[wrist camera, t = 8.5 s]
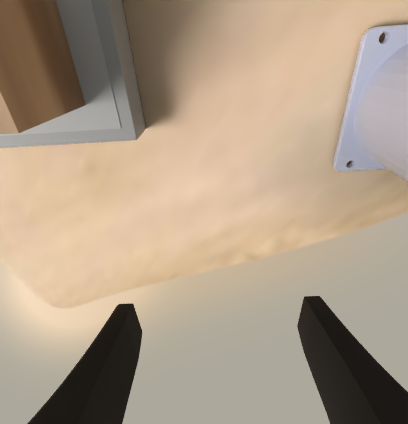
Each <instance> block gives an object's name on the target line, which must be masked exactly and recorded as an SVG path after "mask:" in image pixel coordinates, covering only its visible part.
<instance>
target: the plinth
mask: <svg viewBox="0 0 408 424" xmlns="http://www.w3.org/2000/svg"><path fill="white" fill-rule="evenodd" d="M56 2H57V6H58V9H59V13H60V17H61V20H62V24H63V27H64V31H65V34H66V38H67V41H68V45H69V48H70V52H71V55H72V59H73V62H74V66H75V69H76V73H77V76H78V80H79V83H80V87H81V90H82V94H83V97H84V101H85V104H86V105H85V106H83V107H80V108H78V109H76V110H73V111H71V112H68V113H66V114H64V115H61V116H59V117H57V118H54V119H52V120H50V121H47V122H45V123H42V124H40V125H38V126H35V127H33V128H31V129H28V130H26V131H23V132H21V133H17V134H0V148H11V147H28V146H45V145H61V144H78V143H95V142H112V141H128V140H137V139H138V138H139V136H140V135H141V134H142V133H143V132H144V130H145V129H146V127H145V122H144V117H143V111H142V106H141V100H140V95H139V89H138V84H137V79H136V73H135V68H134V62H133V57H132V51H131V46H130V41H129V35H128V30H127V24H126V19H125V14H124V8H123V3H122V0H56Z"/></svg>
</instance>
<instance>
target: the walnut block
mask: <svg viewBox="0 0 408 424" xmlns="http://www.w3.org/2000/svg"><path fill="white" fill-rule="evenodd" d="M85 105H86V104H85V101H84V97H83V94H82V90H81V87H80V83H79V80H78V76H77V73H76V69H75V66H74V62H73V59H72V55H71V52H70V48H69V45H68V41H67V38H66V34H65V31H64V27H63V24H62V20H61V17H60V13H59V9H58V6H57V2H56V0H0V134H17V133H21V132H23V131H26V130H28V129H31V128H33V127H35V126H38V125H40V124H42V123H45V122H47V121H50V120H52V119H54V118H57V117H59V116H61V115H64V114H66V113H68V112H71V111H73V110H76V109H78V108H80V107H83V106H85Z"/></svg>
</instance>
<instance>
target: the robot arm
mask: <svg viewBox="0 0 408 424" xmlns="http://www.w3.org/2000/svg"><path fill="white" fill-rule="evenodd" d="M383 32H384V34H385V39H384V41H383V42H382V43H380V42H379V37H380V35H381V34H382V33H383ZM349 161H352V162H351V164H350V165H348V166H346V164H347V163H348V162H349ZM333 167H334V168H335V169H336V170H337V171H358V170H377V169H389V170H390V171H392V172H393V173H395V174H396V175H398V176H399V177H401V178H403V179H404V180H406V181H407V182H408V24H404V25H392V26H379V27H372V28H369V29H368V30H367V31H366V32H365V33H364V34H363V36H362V38H361V42H360V46H359V51H358V55H357V60H356V64H355V69H354V73H353V77H352V82H351V86H350V91H349V95H348V99H347V104H346V108H345V113H344V117H343V121H342V126H341V130H340V135H339V139H338V143H337V148H336V152H335V157H334V161H333ZM297 327H298V331H299V334H300V339H301V343H302V346H303V350H304V353H305V356H306V359H307V362H308V364H309V367H310V370H311V372H312V375H313V378H314V380H315V383H316V385H317V388H318V391H319V394H320V396H321V399H322V401H323V404H324V407H325V410H326V412H327V415H328V418H329V421H330V424H408V392H407V391H406V390H405V389H404V388H403V387H402V386H401V385H400V384H399V383H398V382H397V381H396V380H394V378H393V377H392V376H391V375H390V374H389V373H388V372H387V371H386V370H385V369H384V368H383V367H382V366H381V365H380V364H379V363H378V362H377V361H376V360H375V359H374V358H373V357H372V356H371V355H370V354H369V353H368V351H367V350H366V349H365V348H364V347H363V346H362V345H361V344H360V343H359V342H358V341H357V339H356V338H355V337H354V336H353V335H352V334H351V333H350V332H349V331H348V329H347V328H346V327H345V326H344V325H343V324H342V322H341V321H340V320H339V319H338V318H337V316H336V315H335V314H334V313H333V312H332V311H331V309H330V308H329V307H328V306H327V305H326V303H325V302H324V301H323V300H322V298H321V297H320V296H309V297H304V300H303V304H302V308H301V313H300V318H299V322H298V326H297ZM141 338H142V329H141V326H140V323H139V321H138V317H137V314H136V311H135V308H134V305H133V304H119V305H118V306H117V307H116V308H115V310H114V311H113V313H112V314H111V316H110V318H109V319H108V321H107V322H106V324H105V325H104V327H103V328H102V329H101V331H100V332H99V334H98V335H97V337H96V338H95V340H94V341H93V343H92V344H91V345H90V347H89V348H88V350H87V351H86V352H85V354H84V355H83V357H82V358H81V359H80V361H79V362H78V363H77V364H76V366H75V367H74V368H73V370H72V371H71V373H70V374H69V375H68V376H67V378H66V379H65V380H64V381H63V383H62V384H61V385H60V386H59V388H58V389H57V390H56V391H55V392H54V394H53V395H52V396H51V398H50V399H49V400H48V401H47V402H46V403H45V404H44V405H43V407H42V408H41V409H40V410H39V411H38V412H37V414H36V415H35V416H34V417H33V418H32V419H31V420H30V421H29V423H28V424H122V422H123V418H124V414H125V410H126V406H127V402H128V398H129V394H130V390H131V386H132V382H133V379H134V375H135V370H136V366H137V362H138V358H139V352H140V346H141Z"/></svg>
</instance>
